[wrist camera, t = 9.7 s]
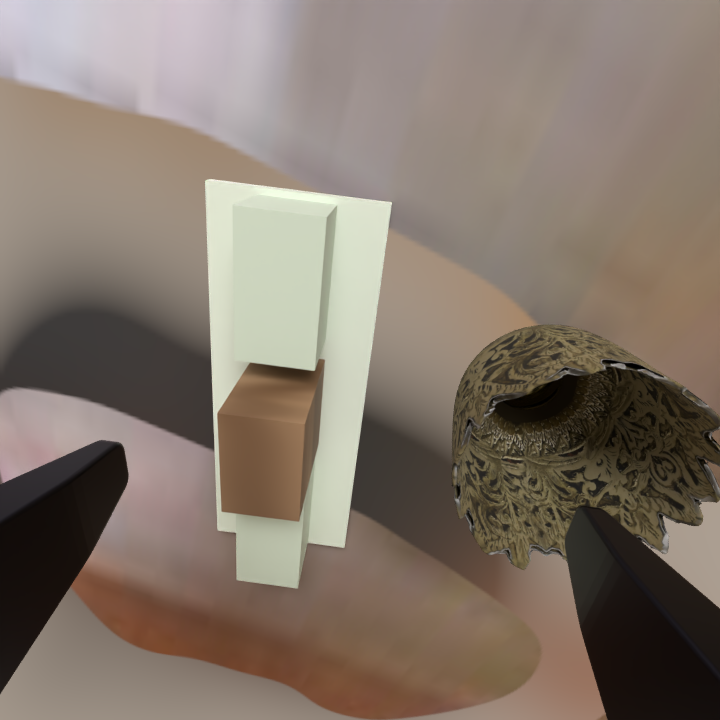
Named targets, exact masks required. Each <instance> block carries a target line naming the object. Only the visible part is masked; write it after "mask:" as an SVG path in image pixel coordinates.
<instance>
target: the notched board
mask: <svg viewBox="0 0 720 720" xmlns="http://www.w3.org/2000/svg"><path fill="white" fill-rule="evenodd" d="M205 193H206V220H207V247H208V248H207V249H208V275H209V304H210V333H211V361H212V387H213V416H214V443H215V473H216V501H217V528H218V531H226V532H233V533H236V571H237V580H240V581H247V582H254V583H262V584H269V585H276V586H283V587H290V588H298V585H299V580H300V576H301V571H302V567H303V562H304V557H305V553H306V548H307V543H313V544H320V545H328V546H335V547H342V548H344V547H345V539H346V532H347V525H348V517H349V510H350V503H351V496H352V488H353V481H354V474H355V467H356V466H355V465H356V459H357V452H358V444H359V438H360V430H361V423H362V416H363V408H364V401H365V394H366V386H367V379H368V372H369V365H370V358H371V351H372V343H373V336H374V329H375V321H376V314H377V307H378V299H379V292H380V285H381V278H382V271H383V263H384V255H385V249H386V242H387V234H388V227H389V220H390V213H391V205H392V202H385V201H377V200H369V199H362V198H354V197H346V196H338V195H330V194H323V193H315V192H307V191H299V190H292V189H284V188H275V187H268V186H260V185H253V184H244V183H236V182H229V181H221V180H214V179H209V180H206V181H205ZM319 359H324V360H325V367H324V380H323V393H322V406H321V419H320V432H319V444H318V448H317V452H316V456H315V460H314V464H313V468H312V472H311V476H310V480H309V484H308V488H307V492H306V496H305V500H304V504H303V508H302V512H301V516H300V520H299V522H297V521H289V520H281V519H273V518H266V517H258V516H250V515H242V514H235V513H227V512H222V511H221V488H220V465H219V443H218V420H217V413H218V411H219V410H220V408H221V407H222V405H223V404H224V402H225V400H226V399H227V397H228V396H229V394H230V393H231V391H232V390H233V388H234V386H235V385H236V383H237V382H238V380H239V379H240V377H241V376H242V374H243V372H244V371H245V369H246V368H247V366H248V365H249V363H250V362H251V363H259V364H266V365H274V366H281V367H289V368H296V369H304V370H311V371H315V369H316V366H317V363H318V360H319Z"/></svg>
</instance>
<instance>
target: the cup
mask: <svg viewBox="0 0 720 720" xmlns="http://www.w3.org/2000/svg"><path fill="white" fill-rule="evenodd" d="M719 429H720V417H719V416H718V414H716V413H715V412H714V411H713V410H712V409H711V408H710V407H709V406H708V405H707V404H706V403H704V402H703V401H702V400H700V399H699V398H698V397H696V396H695V395H694V394H692V393H691V392H690V391H689V390H687V388H686V387H684V386H683V385H681V384H679V383H678V382H676V381H674V380H672V379H670V378H668V377H667V376H665V375H664V374H662V373H661V372H659V371H657V370H656V369H654V368H653V367H651V366H650V365H648V364H647V363H645V362H643V361H642V360H640V359H639V358H637V357H635V356H634V355H632V354H631V353H629V352H627V351H626V350H624V349H622V348H621V347H619V346H617V345H615V344H614V343H612V342H610V341H608V340H606V339H604V338H602V337H600V336H598V335H595V334H593V333H590V332H587V331H585V330H581V329H578V328H574V327H569V326H563V325H538V326H531V327H525V328H522V329H518V330H515V331H513V332H510V333H508V334H506V335H504V336H502V337H500V338H498V339H496V340H495V341H493V342H492V343H490V344H489V345H488V346H487V347H485V348H484V349H483V350H482V351H481V352H480V353H479V354H478V355H477V356H476V358H475V359H474V360H473V361H472V362H471V364H470V365H469V367H468V368H467V370H466V371H465V373H464V375H463V377H462V379H461V382H460V385H459V388H458V391H457V395H456V399H455V405H454V415H453V433H452V486H454V489H455V490H454V491H455V496H454V500H455V504H456V508H457V513H458V517H459V519H462V518H464V516H465V517H466V519H467V521H468V524H469V528H470V531H471V533H472V535H473V536H474V538H475V539H476V541H477V543H478V544H479V546H480V547H481V549H482V550H483V552H485V553H486V554H488V555H493V554H496V553H499V554H500V553H503V554H507V557H508V559H509V561H510V563H511V564H513V565H514V566H516V567H518V568H520V569H522V570H524V569H526V567H527V566H528V564H529V562H530V561H531V558H530V555H531V552H532V551H533V550H535V551H539V552H541V553H542V554H543V555H544V556H548V555H550V554H556V553H558V554H559V555H560V556H561V557H562V558H563V559H565V560H566V561H567V557H566V551H565V536H566V533H567V531H568V528H569V526H570V523H571V521H572V519H573V516H574V514H575V511H576V510H577V508H578V507H580V506H590V507H597V508H601V509H603V510H605V511H606V512H607V513H609V514H610V515H611V516H612V517H613V518H614V519H616V520H617V521H618V522H619V523H620V524H621V525H623V526H624V527H625V528H626V529H627V530H628V531H630V532H631V533H632V534H633V535H634V536H635V537H637V538H638V539H639V540H640V541H642V540H643V542H645V543H647V545H649V546H650V547H651V548H654V549H656V550H658V551H660V552H661V553H664V554H666V553H667V552H668V547H669V543H668V540H669V535H668V532H667V531H666V529H665V526H664V521H663V516H665V517H666V518H668V519H670V520H672V521H674V522H676V523H684V524H687V525H691V526H699V525H701V523H702V522H703V515H702V512H701V510H700V507H699V505H700V504H701V502H716V503H717V502H718V501H719V500H720V490H719V486H718V484H717V481H716V479H715V477H714V475H713V473H712V471H711V469H710V468H709V466H708V465H707V464H708V462H707V463H706V462H705V460H707V461H709V462H711V463H713V464H715V465H717V466H719V467H720V445H719V444H718V443H717V442H716V441H715V440H714V439H713V437H712V432H714V431H715V430H719ZM704 459H705V460H704ZM699 500H701V501H699ZM530 549H533V550H531V551H530ZM567 563H568V562H567Z"/></svg>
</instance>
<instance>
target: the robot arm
mask: <svg viewBox="0 0 720 720" xmlns="http://www.w3.org/2000/svg"><path fill="white" fill-rule="evenodd" d="M127 482H128V468H127V462H126V457H125V451H124V447H123V445H122V444H121V443H119V442H113V441H106V440H100V441H97V442H94V443H92V444H90V445H88V446H85V447H83V448H81V449H79V450H76V451H74V452H72V453H70V454H67V455H65V456H63V457H61V458H58V459H56V460H54V461H52V462H50V463H47V464H45V465H43V466H41V467H38V468H36V469H34V470H32V471H29V472H27V473H25V474H23V475H20V476H18V477H16V478H14V479H11V480H9V481H7V482H5V483H2V484H0V694H1V692H2V690H3V689H4V687H5V686H6V684H7V683H8V681H9V680H10V678H11V677H12V675H13V674H14V672H15V670H16V669H17V667H18V666H19V664H20V663H21V661H22V660H23V658H24V657H25V655H26V654H27V652H28V651H29V649H30V647H31V646H32V644H33V643H34V641H35V640H36V638H37V637H38V635H39V634H40V632H41V631H42V629H43V628H44V626H45V624H46V623H47V621H48V620H49V618H50V617H51V615H52V614H53V612H54V611H55V609H56V608H57V606H58V605H59V603H60V601H61V600H62V598H63V597H64V595H65V594H66V592H67V591H68V589H69V588H70V586H71V585H72V583H73V581H74V580H75V578H76V577H77V575H78V574H79V572H80V571H81V569H82V568H83V566H84V564H85V563H86V561H87V560H88V558H89V556H90V555H91V553H92V551H93V549H94V547H95V546H96V544H97V542H98V540H99V538H100V536H101V534H102V532H103V530H104V528H105V526H106V524H107V523H108V521H109V519H110V517H111V515H112V513H113V511H114V509H115V507H116V505H117V503H118V501H119V499H120V497H121V495H122V494H123V492H124V490H125V488H126V485H127ZM565 551H566V557H567V562H568V567H569V572H570V578H571V583H572V588H573V594H574V599H575V604H576V609H577V615H578V619H579V624H580V628H581V632H582V635H583V639H584V643H585V646H586V649H587V653H588V656H589V659H590V663H591V666H592V669H593V672H594V676H595V679H596V682H597V686H598V690H599V692H600V696H601V699H602V703H603V706H604V709H605V713H606V716H607V719H608V720H720V608H719V607H717V606H716V605H715V604H714V603H713V602H712V601H710V600H709V599H708V598H707V597H706V596H704V595H703V594H702V593H701V592H700V591H699V590H697V589H696V588H695V587H694V586H693V585H692V584H690V583H689V582H688V581H687V580H686V579H685V578H683V577H682V576H681V575H680V574H679V573H677V572H676V571H675V570H674V569H673V568H672V567H671V566H669V565H668V564H667V563H666V562H665V561H664V560H662V559H661V558H660V557H659V556H658V555H657V554H655V553H654V552H653V551H652V550H651V549H649V548H648V547H647V546H646V545H644V543H642V542H641V541H640V540H639V539H638V538H637V537H635V536H634V535H633V534H632V533H631V532H630V531H628V530H627V529H626V528H625V527H624V526H623V525H621V524H620V523H619V522H618V521H617V520H616V519H614V518H613V517H612V516H611V515H610V514H609V513H607V512H606V511H605V510H603V509H601V508H597V507H590V506H580V507H578V508H577V510H576V511H575V514H574V516H573V519H572V521H571V523H570V526H569V528H568V531H567V533H566V536H565Z"/></svg>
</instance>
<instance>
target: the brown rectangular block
mask: <svg viewBox="0 0 720 720" xmlns="http://www.w3.org/2000/svg"><path fill="white" fill-rule="evenodd" d="M324 367H325V360H324V359H319V360H318V363H317V366H316V369H315V371H311V370H304V369H296V368H289V367H281V366H274V365H266V364H259V363H251V362H250V363H249V365H248V366H247V368H246V369H245V371H244V372H243V374H242V376H241V377H240V379H239V380H238V382H237V383H236V385H235V386H234V388H233V390H232V391H231V393H230V394H229V396H228V397H227V399H226V400H225V402H224V404H223V405H222V407H221V408H220V410H219V411H218V413H217V420H218V443H219V465H220V488H221V511H222V512H227V513H235V514H242V515H250V516H258V517H266V518H273V519H281V520H289V521H297V522H299V520H300V516H301V512H302V508H303V504H304V500H305V496H306V492H307V488H308V484H309V480H310V476H311V472H312V468H313V464H314V460H315V456H316V452H317V448H318V444H319V432H320V419H321V406H322V393H323V380H324Z"/></svg>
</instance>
